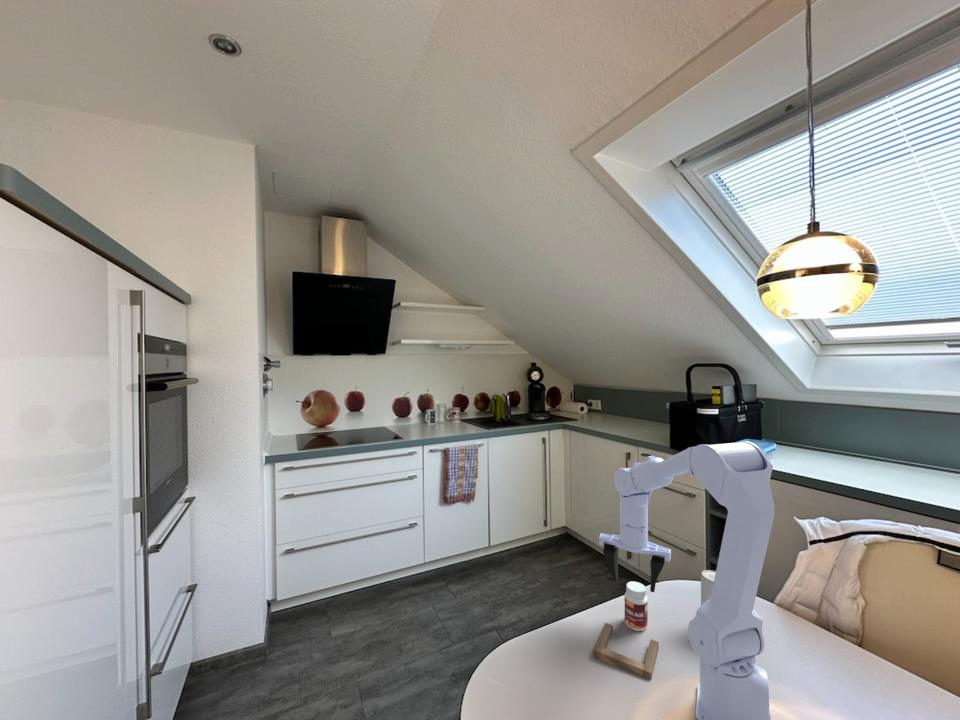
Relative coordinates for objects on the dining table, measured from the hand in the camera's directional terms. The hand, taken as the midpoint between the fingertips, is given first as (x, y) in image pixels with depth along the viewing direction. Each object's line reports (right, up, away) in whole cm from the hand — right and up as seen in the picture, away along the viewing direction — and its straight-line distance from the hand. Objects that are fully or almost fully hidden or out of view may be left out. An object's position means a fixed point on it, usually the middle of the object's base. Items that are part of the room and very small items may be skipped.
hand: (633, 584), depth 84 cm
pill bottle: (+1, -9, 0) cm, 9 cm away
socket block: (-4, -9, -7) cm, 12 cm away
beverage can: (+16, -9, -2) cm, 19 cm away
